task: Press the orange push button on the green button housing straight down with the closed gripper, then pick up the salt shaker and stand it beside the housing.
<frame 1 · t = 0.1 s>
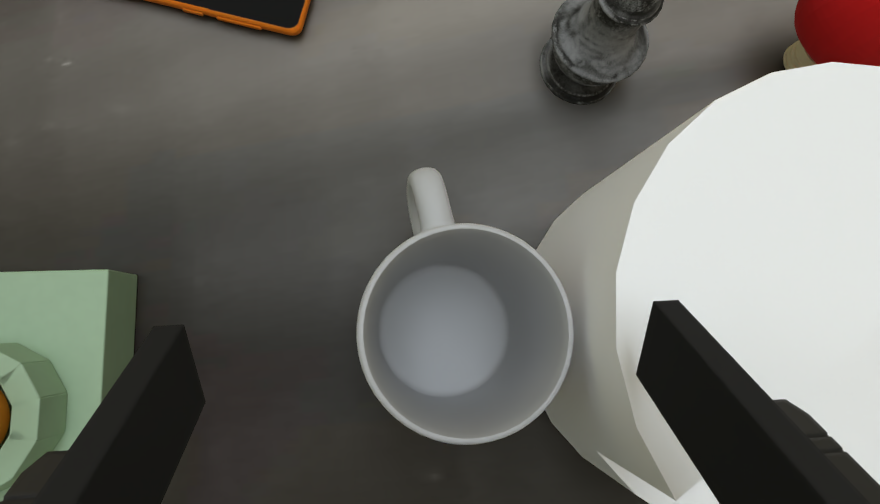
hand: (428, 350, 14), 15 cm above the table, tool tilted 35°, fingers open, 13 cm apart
container: (676, 324, 31), on the table
salt shaker: (578, 67, 33), on the table
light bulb: (789, 69, 35), on the table
mug: (435, 300, 30), on the table
green button housing: (35, 405, 27), on the table
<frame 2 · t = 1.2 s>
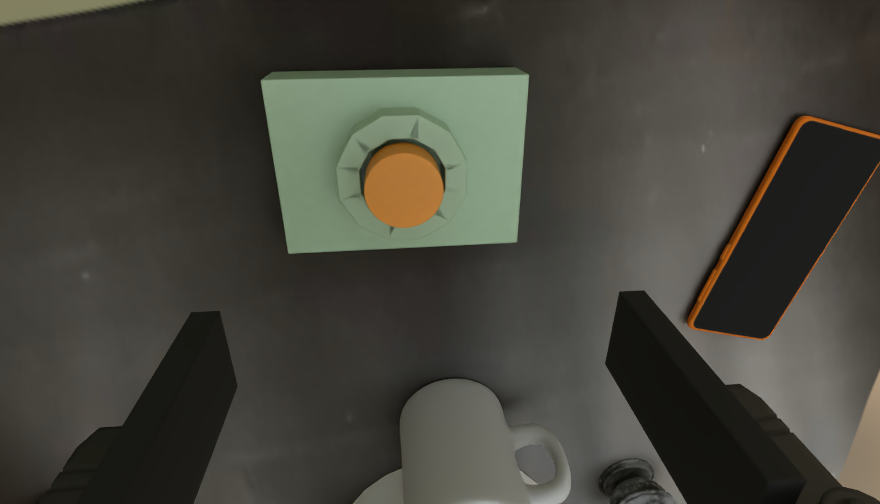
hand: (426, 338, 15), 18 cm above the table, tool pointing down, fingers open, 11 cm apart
orange push button: (403, 185, 26), point 6 cm above the table, slide at 0.1 cm
salt shaker: (624, 476, 48), on the table
mug: (471, 410, 42), on the table
green button housing: (400, 154, 31), on the table
smartphone: (774, 235, 37), on the table
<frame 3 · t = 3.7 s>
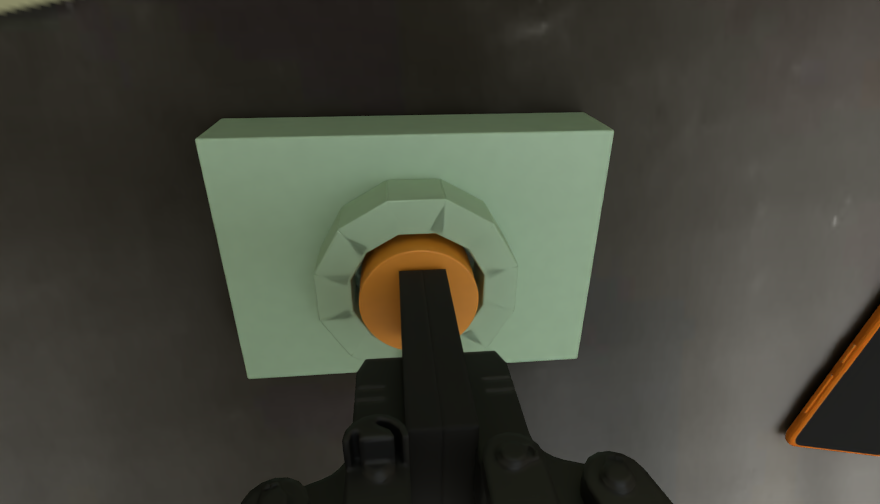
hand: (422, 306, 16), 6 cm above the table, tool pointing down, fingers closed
orange push button: (417, 287, 18), point 5 cm above the table, slide at -0.9 cm, touching gripper
green button housing: (411, 232, 22), on the table
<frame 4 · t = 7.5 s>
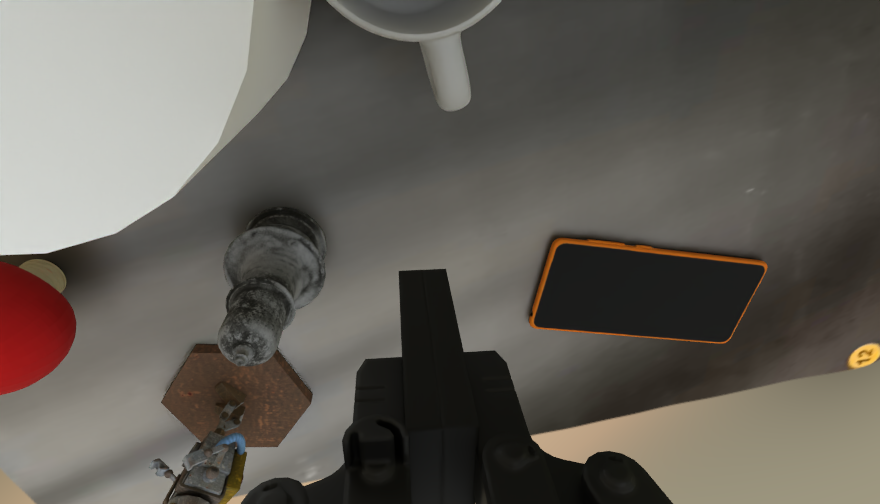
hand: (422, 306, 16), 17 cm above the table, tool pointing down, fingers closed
robot figurine: (242, 390, 39), on the table
salt shaker: (286, 243, 33), on the table
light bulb: (52, 269, 33), on the table
smartphone: (643, 289, 38), on the table
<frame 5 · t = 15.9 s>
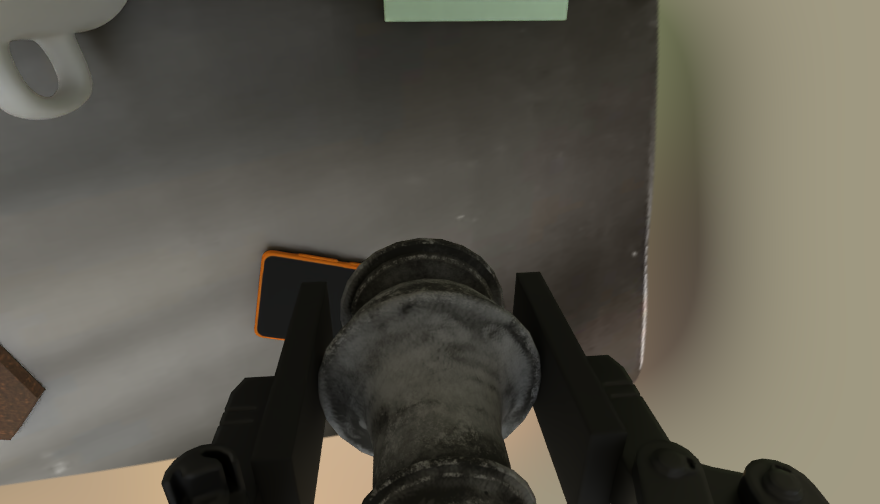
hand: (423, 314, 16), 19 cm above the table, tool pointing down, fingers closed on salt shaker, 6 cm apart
salt shaker: (422, 307, 16), point 19 cm above the table, touching gripper
smartphone: (372, 305, 39), on the table
when the fingers open (0 cm above the table, at t = 20.6 s): salt shaker stays where it is, on the table.
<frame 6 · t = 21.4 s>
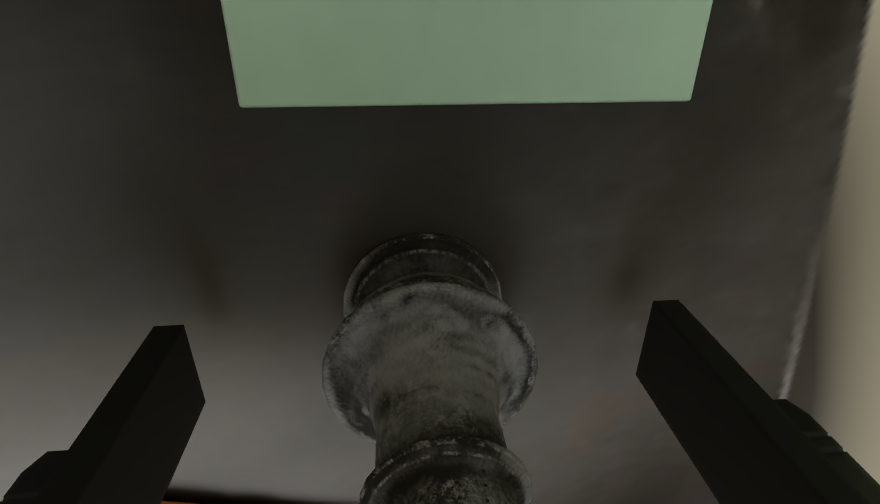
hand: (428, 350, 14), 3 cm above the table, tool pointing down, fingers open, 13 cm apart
salt shaker: (422, 301, 17), on the table
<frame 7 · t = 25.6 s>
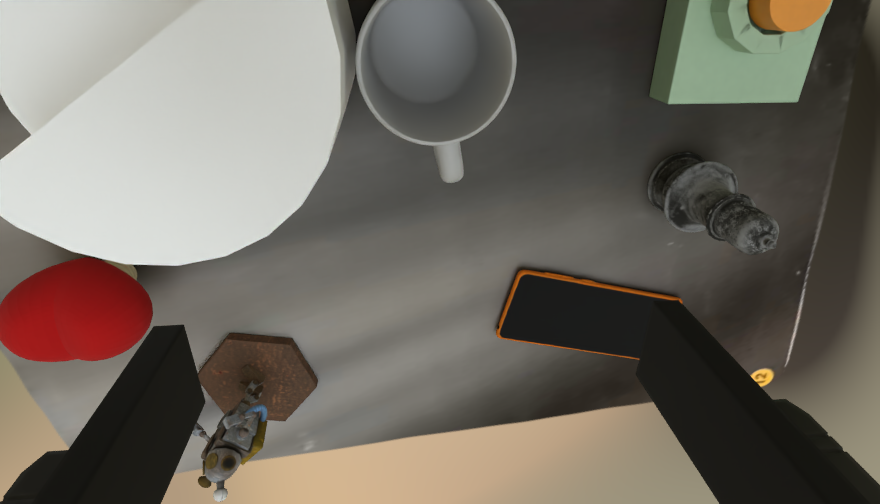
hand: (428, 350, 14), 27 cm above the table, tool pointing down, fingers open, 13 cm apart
robot figurine: (261, 372, 48), on the table
container: (208, 42, 34), on the table
salt shaker: (676, 181, 42), on the table
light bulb: (125, 266, 41), on the table
mug: (427, 70, 36), on the table
smartphone: (587, 313, 48), on the table
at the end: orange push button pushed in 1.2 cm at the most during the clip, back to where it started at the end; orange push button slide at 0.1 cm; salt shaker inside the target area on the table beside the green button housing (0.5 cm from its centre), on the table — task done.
